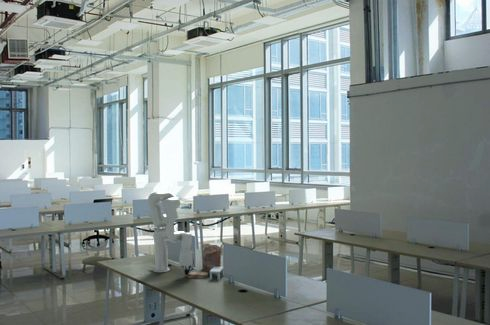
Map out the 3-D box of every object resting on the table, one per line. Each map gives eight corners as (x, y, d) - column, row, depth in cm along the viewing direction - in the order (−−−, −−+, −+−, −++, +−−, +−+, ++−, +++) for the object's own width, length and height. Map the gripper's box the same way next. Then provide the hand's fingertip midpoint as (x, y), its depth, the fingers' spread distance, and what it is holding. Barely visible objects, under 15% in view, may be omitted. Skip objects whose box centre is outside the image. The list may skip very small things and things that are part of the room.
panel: (187, 278, 377) (187, 274, 376) (190, 275, 384) (190, 271, 384) (206, 279, 374) (206, 274, 374) (209, 276, 382) (209, 272, 382)
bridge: (209, 279, 371) (209, 271, 371) (214, 274, 385) (214, 266, 384) (219, 279, 370) (219, 271, 370) (223, 274, 384) (223, 266, 383)
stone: (198, 270, 399) (198, 243, 398) (207, 267, 407) (207, 241, 406) (216, 273, 387) (216, 246, 387) (225, 270, 396) (225, 244, 395)
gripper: (175, 250, 378) (175, 275, 378) (195, 251, 375) (195, 276, 376) (178, 248, 385) (178, 273, 386) (197, 248, 383) (198, 273, 383)
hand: (186, 274), depth 381 cm, fingers closed
